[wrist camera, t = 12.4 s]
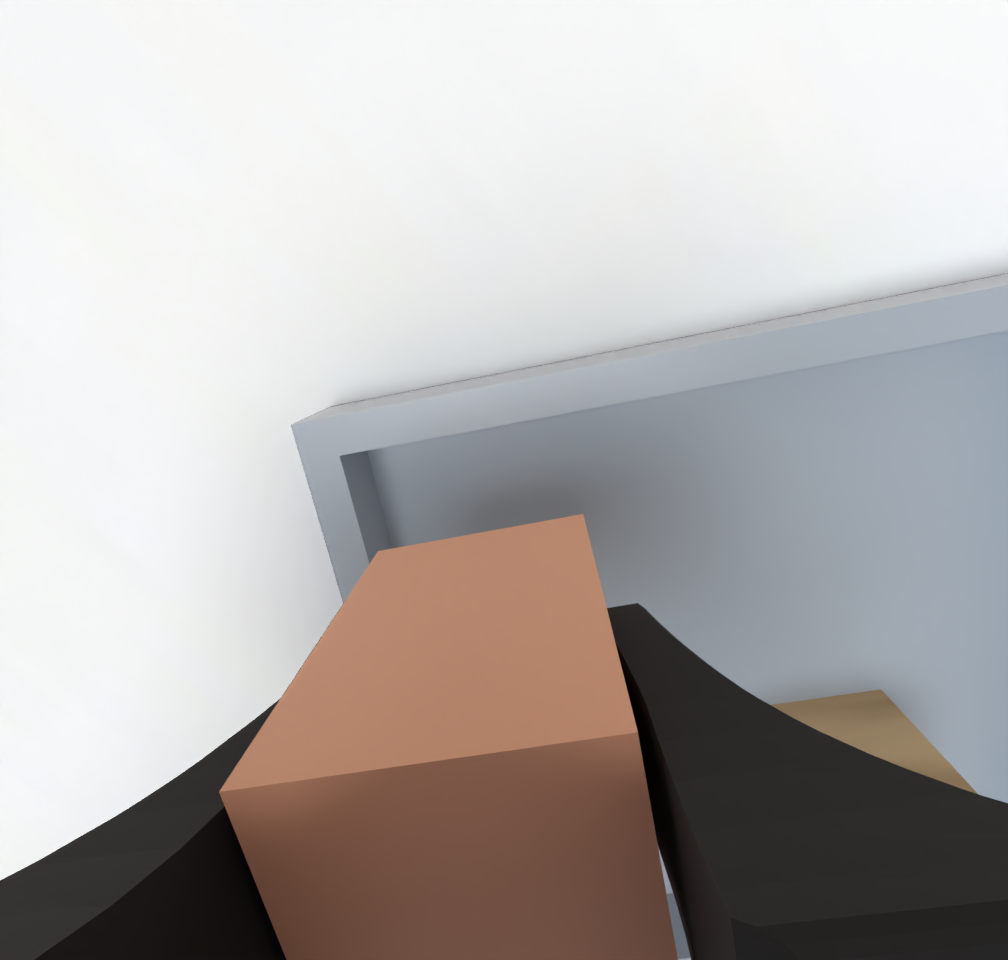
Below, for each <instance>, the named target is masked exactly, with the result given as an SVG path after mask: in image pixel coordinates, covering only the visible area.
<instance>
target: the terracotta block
mask: <svg viewBox="0 0 1008 960" xmlns="http://www.w3.org/2000/svg"><path fill="white" fill-rule="evenodd" d="M219 793H220V796H221V798H222V801H223V803H224V806H225V808H226V811H227V813H228V816H229V818H230V821H231V823H232V826H233V828H234V831H235V833H236V836H237V838H238V840H239V843H240V845H241V848H242V850H243V853H244V855H245V858H246V860H247V863H248V865H249V868H250V870H251V873H252V875H253V878H254V880H255V883H256V885H257V888H258V890H259V893H260V895H261V898H262V900H263V903H264V905H265V908H266V910H267V913H268V915H269V918H270V920H271V923H272V925H273V927H274V930H275V932H276V935H277V937H278V940H279V942H280V945H281V947H282V950H283V952H284V955H285V957H286V960H678V957H677V951H676V946H675V940H674V934H673V929H672V923H671V917H670V912H669V906H668V900H667V895H666V889H665V883H664V878H663V872H662V866H661V861H660V855H659V849H658V844H657V838H656V832H655V827H654V821H653V815H652V810H651V804H650V798H649V793H648V787H647V781H646V776H645V770H644V764H643V759H642V753H641V747H640V742H639V736H638V731H637V727H636V723H635V719H634V715H633V711H632V707H631V703H630V699H629V695H628V691H627V687H626V683H625V679H624V675H623V671H622V667H621V663H620V659H619V655H618V651H617V647H616V643H615V639H614V635H613V631H612V627H611V623H610V619H609V615H608V611H607V607H606V603H605V599H604V595H603V591H602V587H601V583H600V579H599V575H598V571H597V567H596V563H595V559H594V555H593V551H592V547H591V543H590V539H589V535H588V531H587V527H586V523H585V519H584V515H583V514H580V515H575V516H569V517H564V518H558V519H553V520H547V521H542V522H536V523H531V524H525V525H520V526H514V527H508V528H503V529H497V530H492V531H486V532H481V533H475V534H470V535H464V536H459V537H453V538H448V539H442V540H437V541H431V542H426V543H420V544H415V545H409V546H404V547H398V548H393V549H387V550H381V551H378V552H377V553H376V555H375V556H374V558H373V559H372V561H371V562H370V564H369V565H368V567H367V568H366V570H365V571H364V573H363V575H362V576H361V578H360V579H359V581H358V582H357V584H356V585H355V587H354V588H353V590H352V591H351V593H350V594H349V596H348V597H347V599H346V600H345V602H344V603H343V605H342V606H341V608H340V609H339V611H338V612H337V614H336V615H335V617H334V618H333V620H332V621H331V623H330V624H329V626H328V628H327V629H326V631H325V632H324V634H323V635H322V637H321V638H320V640H319V641H318V643H317V644H316V646H315V647H314V649H313V650H312V652H311V653H310V655H309V656H308V658H307V659H306V661H305V662H304V664H303V665H302V667H301V668H300V670H299V671H298V673H297V674H296V676H295V678H294V679H293V681H292V682H291V684H290V685H289V687H288V688H287V690H286V691H285V693H284V694H283V696H282V697H281V699H280V700H279V702H278V703H277V705H276V706H275V708H274V709H273V711H272V712H271V714H270V715H269V717H268V718H267V720H266V721H265V723H264V724H263V726H262V727H261V729H260V731H259V732H258V734H257V735H256V737H255V738H254V740H253V741H252V743H251V744H250V746H249V747H248V749H247V750H246V752H245V753H244V755H243V756H242V758H241V759H240V761H239V762H238V764H237V765H236V767H235V768H234V770H233V771H232V773H231V774H230V776H229V777H228V779H227V780H226V782H225V784H224V785H223V787H222V788H221V790H220V791H219Z"/></svg>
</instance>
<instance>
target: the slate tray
mask: <svg viewBox="0 0 1008 960" xmlns="http://www.w3.org/2000/svg"><path fill="white" fill-rule="evenodd" d="M291 427H292V430H293V434H294V437H295V441H296V444H297V447H298V451H299V454H300V457H301V461H302V464H303V468H304V471H305V474H306V478H307V481H308V485H309V488H310V491H311V495H312V498H313V502H314V505H315V508H316V512H317V515H318V519H319V522H320V525H321V529H322V532H323V535H324V539H325V542H326V546H327V549H328V552H329V556H330V559H331V563H332V566H333V569H334V573H335V576H336V580H337V583H338V586H339V590H340V593H341V596H342V600H343V603H344V602H345V600H346V599H347V597H348V596H349V594H350V593H351V591H352V590H353V588H354V587H355V585H356V584H357V582H358V581H359V579H360V578H361V576H362V575H363V573H364V571H365V570H366V568H367V567H368V565H369V564H370V562H371V561H372V559H373V558H374V556H375V555H376V553H377V552H378V551H381V550H387V549H393V548H398V547H404V546H409V545H415V544H420V543H426V542H431V541H437V540H442V539H448V538H453V537H459V536H464V535H470V534H475V533H481V532H486V531H492V530H497V529H503V528H508V527H514V526H520V525H525V524H531V523H536V522H542V521H547V520H553V519H558V518H564V517H569V516H575V515H580V514H583V515H584V519H585V523H586V527H587V531H588V535H589V539H590V543H591V547H592V551H593V555H594V559H595V563H596V567H597V571H598V575H599V579H600V583H601V587H602V591H603V595H604V599H605V603H606V607H607V608H611V607H617V606H623V605H629V604H635V603H639V604H640V605H641V606H643V607H644V608H645V609H646V610H647V611H648V612H649V613H650V614H651V615H652V616H653V617H654V618H655V619H656V620H657V621H658V622H659V623H660V624H661V625H663V626H664V627H665V628H666V629H667V630H668V631H669V632H670V633H671V634H672V635H674V636H675V637H676V638H677V639H678V640H679V641H680V642H682V643H683V644H684V645H685V646H686V647H688V648H689V649H690V650H691V651H693V652H694V653H695V654H696V655H698V656H699V657H700V658H701V659H703V660H704V661H705V662H706V663H708V664H709V665H710V666H712V667H713V668H714V669H716V670H717V671H718V672H720V673H721V674H722V675H724V676H725V677H727V678H728V679H730V680H731V681H733V682H734V683H735V684H737V685H738V686H740V687H741V688H743V689H744V690H746V691H747V692H749V693H751V694H752V695H754V696H755V697H757V698H759V699H761V700H762V701H764V702H766V703H768V704H769V705H773V704H781V703H788V702H795V701H802V700H809V699H816V698H823V697H831V696H838V695H845V694H852V693H859V692H866V691H873V690H882V691H883V692H884V693H885V694H886V695H887V696H888V697H889V698H890V699H891V701H892V702H893V703H894V704H895V705H896V706H897V707H898V708H899V709H900V710H901V711H902V712H903V713H904V715H905V716H906V717H907V718H908V719H909V720H910V721H911V722H912V723H913V724H914V725H915V726H916V727H917V729H918V730H919V731H920V732H921V733H922V734H923V735H924V736H925V737H926V738H927V739H928V740H929V741H930V743H931V744H932V745H933V746H934V747H935V748H936V749H937V750H938V751H939V752H940V753H941V754H942V755H943V757H944V758H945V759H946V760H947V761H948V762H949V763H950V764H951V765H952V766H953V767H954V768H955V769H956V771H957V772H958V773H959V774H960V775H961V776H962V777H963V778H964V779H965V780H966V781H967V782H968V783H969V785H970V786H971V787H972V788H973V789H974V790H975V791H976V792H977V793H978V794H979V795H982V796H985V797H989V798H992V799H995V800H999V801H1002V802H1005V803H1008V273H1007V274H1002V275H997V276H992V277H987V278H982V279H977V280H972V281H967V282H962V283H957V284H952V285H947V286H941V287H936V288H931V289H926V290H921V291H916V292H911V293H906V294H901V295H896V296H891V297H886V298H881V299H875V300H870V301H865V302H860V303H855V304H850V305H845V306H840V307H835V308H830V309H825V310H820V311H814V312H809V313H804V314H799V315H794V316H789V317H784V318H779V319H774V320H769V321H764V322H759V323H754V324H748V325H743V326H738V327H733V328H728V329H723V330H718V331H713V332H708V333H703V334H698V335H693V336H688V337H682V338H677V339H672V340H667V341H662V342H657V343H652V344H647V345H642V346H637V347H632V348H627V349H621V350H616V351H611V352H606V353H601V354H596V355H591V356H586V357H581V358H576V359H571V360H566V361H561V362H555V363H550V364H545V365H540V366H535V367H530V368H525V369H520V370H515V371H510V372H505V373H500V374H495V375H489V376H484V377H479V378H474V379H469V380H464V381H459V382H454V383H449V384H444V385H439V386H434V387H428V388H423V389H418V390H413V391H408V392H403V393H398V394H393V395H388V396H383V397H378V398H373V399H368V400H362V401H357V402H352V403H347V404H342V405H337V406H332V407H329V408H327V409H324V410H322V411H320V412H318V413H316V414H313V415H311V416H309V417H307V418H305V419H302V420H300V421H298V422H296V423H294V424H291ZM658 849H659V848H658ZM659 855H660V861H661V866H662V872H663V878H664V883H665V889H666V895H667V900H668V906H669V912H670V917H671V923H672V929H673V934H674V940H675V946H676V951H677V957H678V960H691V957H690V953H689V948H688V944H687V940H686V936H685V932H684V929H683V925H682V921H681V918H680V914H679V911H678V907H677V904H676V900H675V897H674V894H673V891H672V888H671V885H670V882H669V879H668V876H667V872H666V869H665V866H664V863H663V860H662V857H661V854H660V851H659Z"/></svg>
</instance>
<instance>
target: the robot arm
mask: <svg viewBox="0 0 1008 960" xmlns="http://www.w3.org/2000/svg"><path fill="white" fill-rule="evenodd" d="M607 611H608V615H609V619H610V623H611V627H612V631H613V635H614V639H615V643H616V647H617V651H618V655H619V659H620V663H621V667H622V671H623V675H624V679H625V683H626V687H627V691H628V695H629V699H630V703H631V707H632V711H633V715H634V719H635V723H636V727H637V731H638V736H639V742H640V747H641V753H642V759H643V764H644V770H645V776H646V781H647V787H648V793H649V798H650V804H651V810H652V815H653V821H654V827H655V832H656V838H657V844H658V848H659V851H660V854H661V857H662V860H663V863H664V866H665V869H666V872H667V876H668V879H669V882H670V885H671V888H672V891H673V894H674V897H675V900H676V904H677V907H678V911H679V914H680V918H681V921H682V925H683V929H684V932H685V936H686V940H687V944H688V948H689V953H690V957H691V960H1008V803H1005V802H1002V801H999V800H995V799H992V798H989V797H985V796H982V795H979V794H976V793H973V792H970V791H967V790H964V789H961V788H958V787H956V786H953V785H950V784H947V783H944V782H942V781H939V780H936V779H933V778H931V777H928V776H925V775H922V774H920V773H917V772H914V771H911V770H909V769H906V768H903V767H901V766H898V765H896V764H893V763H891V762H888V761H886V760H883V759H881V758H878V757H876V756H873V755H871V754H869V753H866V752H864V751H862V750H860V749H857V748H855V747H853V746H851V745H849V744H846V743H844V742H842V741H840V740H838V739H835V738H833V737H831V736H829V735H827V734H824V733H822V732H820V731H818V730H816V729H814V728H812V727H810V726H808V725H806V724H804V723H802V722H800V721H798V720H796V719H794V718H793V717H791V716H789V715H787V714H785V713H784V712H782V711H780V710H778V709H777V708H775V707H773V706H771V705H769V704H768V703H766V702H764V701H762V700H761V699H759V698H757V697H755V696H754V695H752V694H751V693H749V692H747V691H746V690H744V689H743V688H741V687H740V686H738V685H737V684H735V683H734V682H733V681H731V680H730V679H728V678H727V677H725V676H724V675H722V674H721V673H720V672H718V671H717V670H716V669H714V668H713V667H712V666H710V665H709V664H708V663H706V662H705V661H704V660H703V659H701V658H700V657H699V656H698V655H696V654H695V653H694V652H693V651H691V650H690V649H689V648H688V647H686V646H685V645H684V644H683V643H682V642H680V641H679V640H678V639H677V638H676V637H675V636H674V635H672V634H671V633H670V632H669V631H668V630H667V629H666V628H665V627H664V626H663V625H661V624H660V623H659V622H658V621H657V620H656V619H655V618H654V617H653V616H652V615H651V614H650V613H649V612H648V611H647V610H646V609H645V608H644V607H643V606H641V605H640V604H639V603H635V604H629V605H623V606H617V607H611V608H607ZM279 700H280V699H279ZM279 700H278V701H277V702H276V703H274V704H273V705H272V706H271V707H269V708H268V709H267V710H266V711H265V712H263V713H262V714H261V715H260V716H258V717H257V718H256V719H255V720H253V721H252V722H251V723H249V724H248V725H247V726H245V727H244V728H243V729H241V730H240V731H239V732H237V733H236V734H235V735H233V736H232V737H231V738H229V739H228V740H227V741H226V742H224V743H223V744H222V745H220V746H219V747H218V748H216V749H215V750H214V751H212V752H211V753H210V754H208V755H207V756H206V757H204V758H203V759H202V760H200V761H199V762H198V763H196V764H195V765H193V766H192V767H190V768H189V769H188V770H186V771H185V772H183V773H182V774H180V775H179V776H178V777H176V778H175V779H173V780H172V781H170V782H169V783H167V784H166V785H164V786H163V787H161V788H160V789H158V790H156V791H155V792H153V793H152V794H150V795H149V796H147V797H146V798H144V799H143V800H141V801H140V802H138V803H136V804H135V805H133V806H132V807H130V808H129V809H127V810H125V811H124V812H122V813H120V814H119V815H117V816H116V817H114V818H112V819H110V820H109V821H107V822H105V823H103V824H102V825H100V826H98V827H96V828H95V829H93V830H91V831H90V832H88V833H86V834H84V835H83V836H81V837H79V838H77V839H76V840H74V841H72V842H70V843H69V844H67V845H65V846H63V847H62V848H60V849H58V850H56V851H55V852H53V853H51V854H49V855H48V856H46V857H44V858H42V859H41V860H39V861H37V862H35V863H33V864H31V865H30V866H28V867H26V868H24V869H22V870H20V871H18V872H16V873H14V874H12V875H10V876H8V877H6V878H5V879H3V880H1V881H0V960H286V957H285V955H284V952H283V950H282V947H281V945H280V942H279V940H278V937H277V935H276V932H275V930H274V927H273V925H272V923H271V920H270V918H269V915H268V913H267V910H266V908H265V905H264V903H263V900H262V898H261V895H260V893H259V890H258V888H257V885H256V883H255V880H254V878H253V875H252V873H251V870H250V868H249V865H248V863H247V860H246V858H245V855H244V853H243V850H242V848H241V845H240V843H239V840H238V838H237V836H236V833H235V831H234V828H233V826H232V823H231V821H230V818H229V816H228V813H227V811H226V808H225V806H224V803H223V801H222V798H221V796H220V793H219V791H220V790H221V788H222V787H223V785H224V784H225V782H226V780H227V779H228V777H229V776H230V774H231V773H232V771H233V770H234V768H235V767H236V765H237V764H238V762H239V761H240V759H241V758H242V756H243V755H244V753H245V752H246V750H247V749H248V747H249V746H250V744H251V743H252V741H253V740H254V738H255V737H256V735H257V734H258V732H259V731H260V729H261V727H262V726H263V724H264V723H265V721H266V720H267V718H268V717H269V715H270V714H271V712H272V711H273V709H274V708H275V706H276V705H277V703H278V702H279Z"/></svg>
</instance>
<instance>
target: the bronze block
mask: <svg viewBox="0 0 1008 960" xmlns="http://www.w3.org/2000/svg"><path fill="white" fill-rule="evenodd" d="M771 706H773V707H775V708H777V709H778V710H780V711H782V712H784V713H785V714H787V715H789V716H791V717H793V718H794V719H796V720H798V721H800V722H802V723H804V724H806V725H808V726H810V727H812V728H814V729H816V730H818V731H820V732H822V733H824V734H827V735H829V736H831V737H833V738H835V739H838V740H840V741H842V742H844V743H846V744H849V745H851V746H853V747H855V748H857V749H860V750H862V751H864V752H866V753H869V754H871V755H873V756H876V757H878V758H881V759H883V760H886V761H888V762H891V763H893V764H896V765H898V766H901V767H903V768H906V769H909V770H911V771H914V772H917V773H920V774H922V775H925V776H928V777H931V778H933V779H936V780H939V781H942V782H944V783H947V784H950V785H953V786H956V787H958V788H961V789H964V790H967V791H970V792H973V793H976V794H978V793H977V792H976V791H975V790H974V789H973V788H972V787H971V786H970V785H969V783H968V782H967V781H966V780H965V779H964V778H963V777H962V776H961V775H960V774H959V773H958V772H957V771H956V769H955V768H954V767H953V766H952V765H951V764H950V763H949V762H948V761H947V760H946V759H945V758H944V757H943V755H942V754H941V753H940V752H939V751H938V750H937V749H936V748H935V747H934V746H933V745H932V744H931V743H930V741H929V740H928V739H927V738H926V737H925V736H924V735H923V734H922V733H921V732H920V731H919V730H918V729H917V727H916V726H915V725H914V724H913V723H912V722H911V721H910V720H909V719H908V718H907V717H906V716H905V715H904V713H903V712H902V711H901V710H900V709H899V708H898V707H897V706H896V705H895V704H894V703H893V702H892V701H891V699H890V698H889V697H888V696H887V695H886V694H885V693H884V692H883V691H882V690H873V691H866V692H859V693H852V694H845V695H838V696H831V697H823V698H816V699H809V700H802V701H795V702H788V703H781V704H773V705H771Z"/></svg>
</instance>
